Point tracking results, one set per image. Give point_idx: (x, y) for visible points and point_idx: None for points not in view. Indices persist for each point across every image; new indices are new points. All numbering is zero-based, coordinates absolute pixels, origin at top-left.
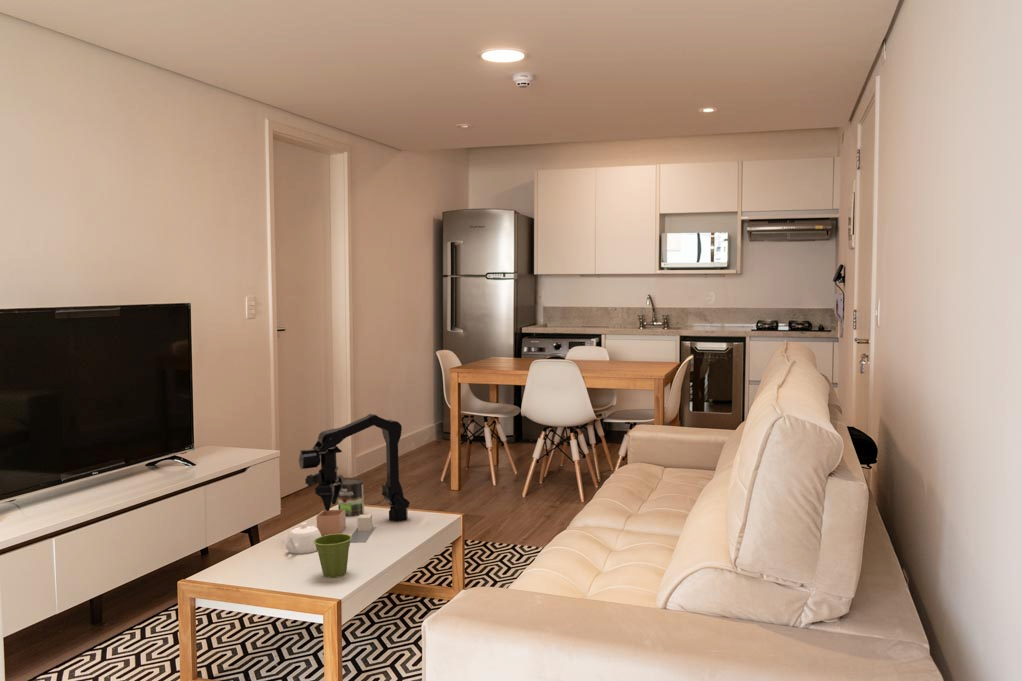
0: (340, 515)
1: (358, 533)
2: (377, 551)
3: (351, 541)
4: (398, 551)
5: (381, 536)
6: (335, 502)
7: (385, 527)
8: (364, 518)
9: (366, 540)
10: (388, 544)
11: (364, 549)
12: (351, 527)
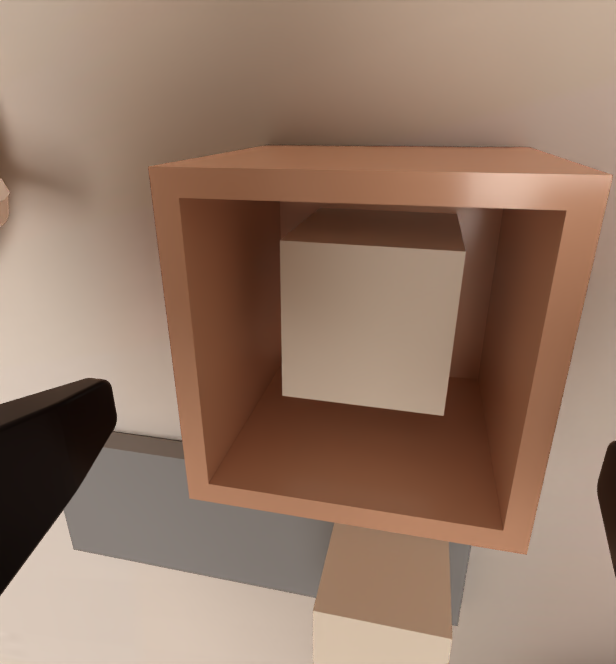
0: (235, 499)
1: None
2: None
3: None
4: (26, 655)
5: (282, 615)
6: (608, 527)
7: (517, 655)
8: (313, 654)
9: (112, 554)
10: (125, 632)
11: None
12: (612, 425)
